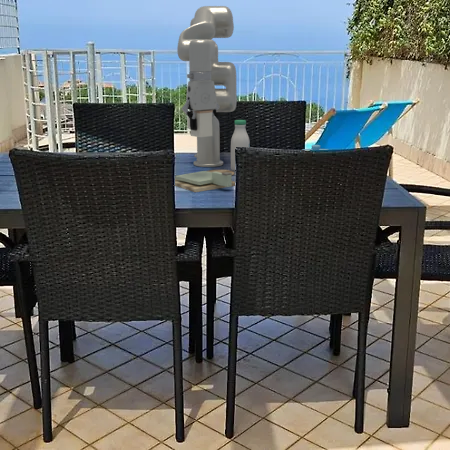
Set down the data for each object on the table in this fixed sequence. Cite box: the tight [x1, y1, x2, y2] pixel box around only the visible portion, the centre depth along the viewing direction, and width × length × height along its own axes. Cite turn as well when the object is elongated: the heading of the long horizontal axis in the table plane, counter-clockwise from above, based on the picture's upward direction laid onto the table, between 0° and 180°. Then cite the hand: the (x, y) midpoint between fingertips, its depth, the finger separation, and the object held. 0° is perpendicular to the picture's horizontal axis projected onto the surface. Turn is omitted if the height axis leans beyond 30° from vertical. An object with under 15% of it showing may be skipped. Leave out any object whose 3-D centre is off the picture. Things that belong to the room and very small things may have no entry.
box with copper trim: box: [186, 110, 213, 138], centre depth 218 cm, size 6×8×9 cm
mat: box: [207, 169, 235, 176], centre depth 242 cm, size 12×12×1 cm
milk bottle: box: [230, 119, 251, 172], centre depth 247 cm, size 8×8×20 cm
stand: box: [174, 178, 236, 193], centre depth 223 cm, size 18×18×2 cm
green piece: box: [174, 170, 233, 188], centre depth 219 cm, size 14×22×5 cm, turn 42°
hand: (201, 128), depth 218 cm, fingers closed on box with copper trim, 5 cm apart
